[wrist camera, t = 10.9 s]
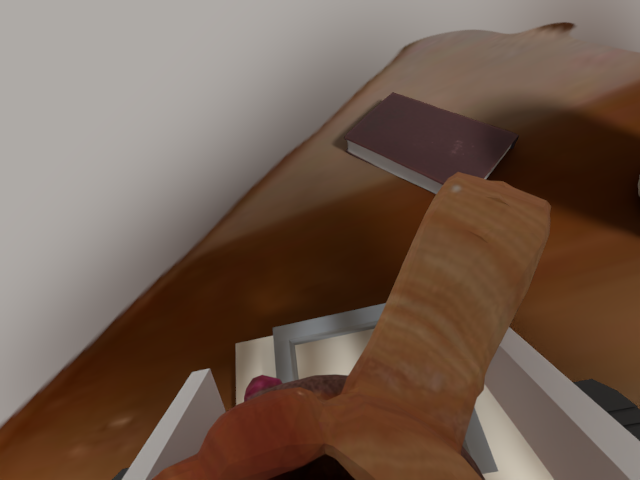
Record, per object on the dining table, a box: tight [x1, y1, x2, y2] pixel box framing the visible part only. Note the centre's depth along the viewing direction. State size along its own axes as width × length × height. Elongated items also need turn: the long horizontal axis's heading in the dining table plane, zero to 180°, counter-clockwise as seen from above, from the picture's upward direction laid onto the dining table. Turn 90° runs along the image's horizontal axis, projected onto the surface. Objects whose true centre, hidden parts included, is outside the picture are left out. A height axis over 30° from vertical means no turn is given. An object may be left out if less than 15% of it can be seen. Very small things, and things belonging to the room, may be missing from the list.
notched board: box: [236, 303, 554, 480], centre depth 26 cm, size 26×22×4 cm
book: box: [344, 92, 519, 194], centre depth 44 cm, size 13×19×3 cm, turn 48°
